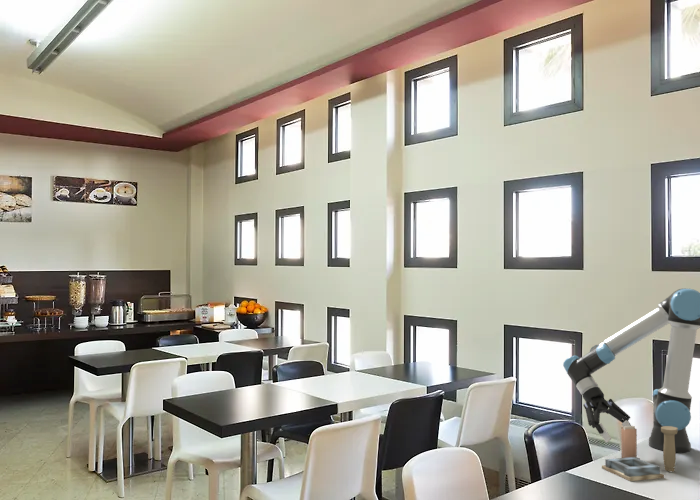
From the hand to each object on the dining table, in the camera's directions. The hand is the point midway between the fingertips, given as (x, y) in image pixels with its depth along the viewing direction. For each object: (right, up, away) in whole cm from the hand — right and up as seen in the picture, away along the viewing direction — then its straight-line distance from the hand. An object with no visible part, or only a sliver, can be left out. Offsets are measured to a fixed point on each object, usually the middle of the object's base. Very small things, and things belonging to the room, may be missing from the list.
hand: (621, 439), depth 229 cm
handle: (+11, -7, -13) cm, 19 cm away
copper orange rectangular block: (+2, -8, -2) cm, 8 cm away
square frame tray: (-4, -7, -16) cm, 18 cm away
